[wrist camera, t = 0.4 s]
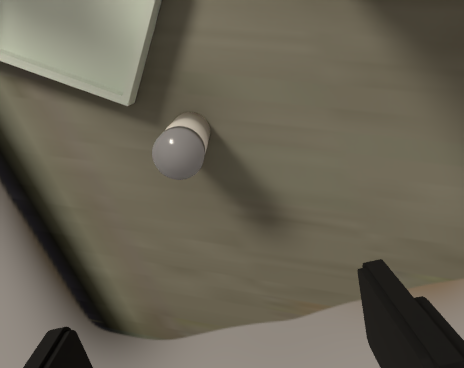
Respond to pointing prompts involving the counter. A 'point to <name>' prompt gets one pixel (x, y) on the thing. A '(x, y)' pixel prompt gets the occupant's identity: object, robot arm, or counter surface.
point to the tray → (81, 42)
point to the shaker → (182, 146)
